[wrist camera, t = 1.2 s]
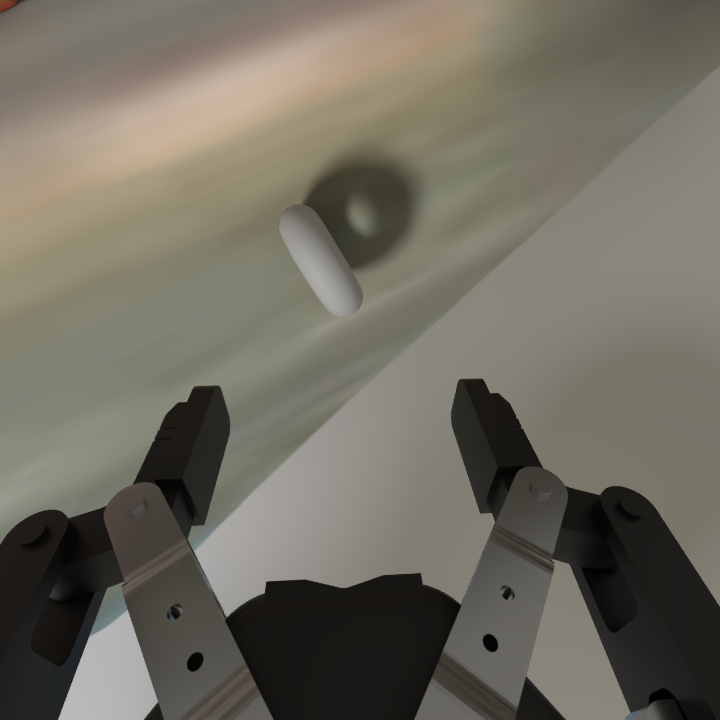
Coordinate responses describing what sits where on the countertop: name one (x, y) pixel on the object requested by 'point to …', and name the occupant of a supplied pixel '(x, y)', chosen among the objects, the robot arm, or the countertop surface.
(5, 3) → the cracker box
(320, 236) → the donut
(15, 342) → the countertop surface
